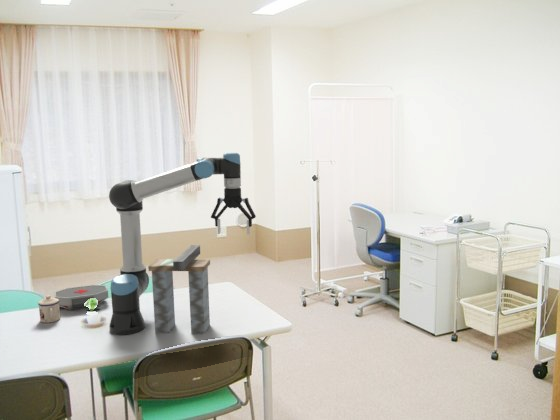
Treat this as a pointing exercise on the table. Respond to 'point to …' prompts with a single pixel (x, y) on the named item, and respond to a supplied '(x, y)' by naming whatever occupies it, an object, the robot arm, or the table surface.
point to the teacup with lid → (49, 309)
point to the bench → (165, 295)
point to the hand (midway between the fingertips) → (233, 233)
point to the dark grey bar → (186, 258)
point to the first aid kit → (80, 295)
